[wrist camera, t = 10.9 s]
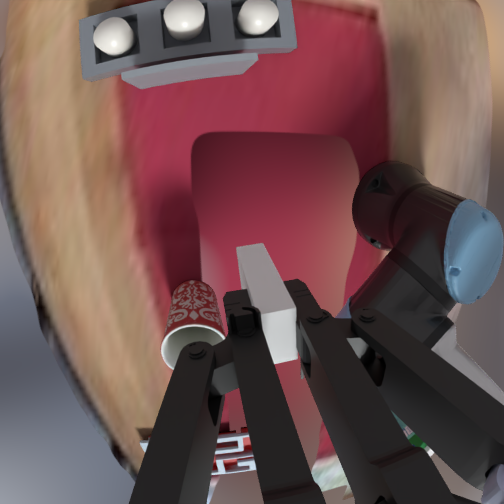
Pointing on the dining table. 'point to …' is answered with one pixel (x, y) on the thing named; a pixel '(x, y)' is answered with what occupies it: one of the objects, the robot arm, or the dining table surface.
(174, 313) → the mug
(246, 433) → the maze game
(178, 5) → the button middle
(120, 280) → the dining table surface
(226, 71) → the card
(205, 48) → the button board
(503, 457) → the robot arm
